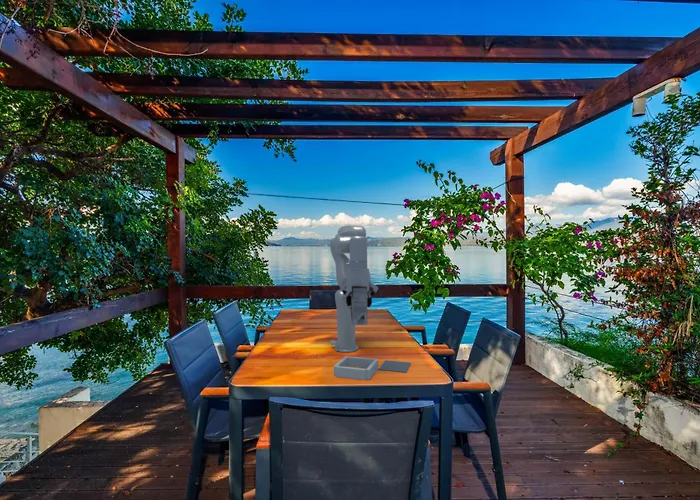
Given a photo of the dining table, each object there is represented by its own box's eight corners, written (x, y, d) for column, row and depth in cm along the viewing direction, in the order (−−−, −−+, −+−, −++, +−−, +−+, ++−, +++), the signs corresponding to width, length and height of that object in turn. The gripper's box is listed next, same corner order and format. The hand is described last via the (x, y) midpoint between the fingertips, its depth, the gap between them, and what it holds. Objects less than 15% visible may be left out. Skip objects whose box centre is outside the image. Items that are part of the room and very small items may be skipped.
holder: (333, 376, 143) (333, 366, 143) (345, 365, 157) (345, 356, 157) (369, 380, 138) (368, 370, 138) (378, 368, 152) (378, 359, 152)
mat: (378, 370, 150) (378, 369, 150) (385, 361, 163) (385, 360, 163) (406, 372, 146) (406, 371, 146) (411, 363, 159) (411, 362, 159)
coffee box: (350, 321, 153) (350, 284, 153) (365, 320, 153) (364, 283, 153) (352, 325, 144) (351, 286, 144) (367, 325, 144) (367, 285, 144)
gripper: (336, 265, 148) (336, 306, 148) (375, 265, 142) (376, 308, 142) (342, 264, 155) (343, 304, 155) (380, 265, 149) (381, 305, 149)
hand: (358, 306), depth 149 cm, fingers closed on coffee box, 8 cm apart
